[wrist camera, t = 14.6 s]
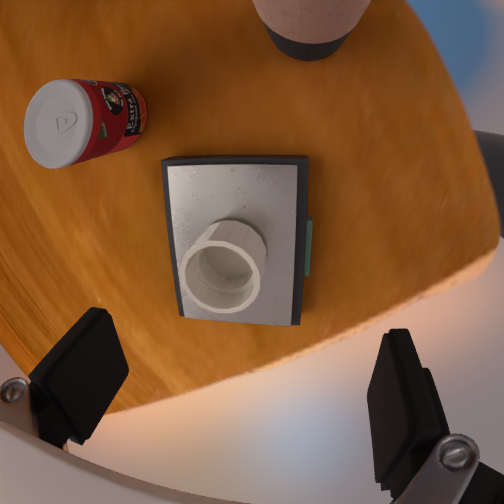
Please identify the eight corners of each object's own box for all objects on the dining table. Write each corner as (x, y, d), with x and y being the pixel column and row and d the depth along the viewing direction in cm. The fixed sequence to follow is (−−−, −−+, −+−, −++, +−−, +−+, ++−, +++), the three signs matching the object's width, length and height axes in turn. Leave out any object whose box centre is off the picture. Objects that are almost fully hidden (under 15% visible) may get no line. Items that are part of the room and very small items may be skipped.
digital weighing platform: (297, 164, 27) (297, 165, 27) (291, 322, 34) (290, 326, 34) (169, 165, 29) (167, 166, 28) (186, 314, 36) (184, 317, 35)
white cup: (267, 219, 29) (260, 242, 24) (267, 284, 32) (260, 316, 27) (196, 217, 30) (175, 239, 25) (201, 280, 33) (184, 310, 28)
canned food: (160, 130, 30) (101, 141, 20) (104, 162, 32) (40, 185, 22) (135, 70, 28) (71, 59, 18) (82, 106, 30) (14, 112, 20)
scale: (314, 156, 29) (315, 159, 27) (305, 313, 37) (305, 325, 34) (170, 157, 31) (160, 160, 29) (185, 305, 39) (179, 316, 36)
